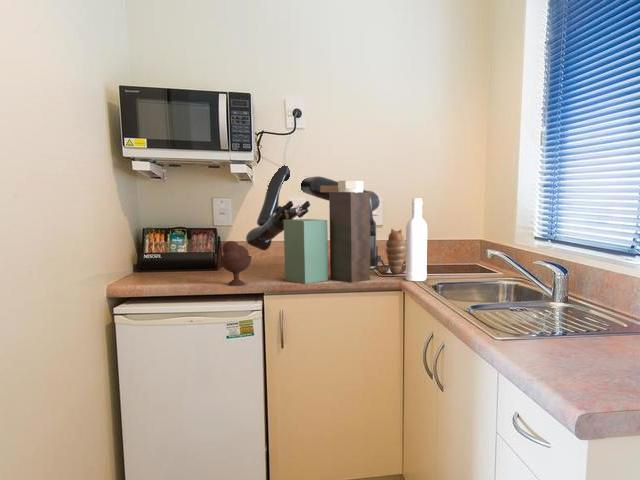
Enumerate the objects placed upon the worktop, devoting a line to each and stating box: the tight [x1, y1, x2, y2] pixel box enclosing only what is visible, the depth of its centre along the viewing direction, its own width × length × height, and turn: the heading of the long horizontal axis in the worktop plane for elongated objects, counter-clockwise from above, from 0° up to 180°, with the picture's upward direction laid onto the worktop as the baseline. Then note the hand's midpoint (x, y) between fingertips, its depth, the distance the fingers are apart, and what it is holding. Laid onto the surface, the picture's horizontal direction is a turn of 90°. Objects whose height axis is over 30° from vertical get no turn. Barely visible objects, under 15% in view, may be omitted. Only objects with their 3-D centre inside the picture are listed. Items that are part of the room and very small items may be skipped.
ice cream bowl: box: [218, 240, 252, 287], centre depth 176 cm, size 11×11×15 cm
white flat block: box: [320, 180, 364, 192], centre depth 188 cm, size 9×20×4 cm, turn 52°
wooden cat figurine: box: [385, 228, 406, 275], centre depth 204 cm, size 9×8×18 cm
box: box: [283, 218, 329, 285], centre depth 186 cm, size 11×11×22 cm
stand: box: [328, 192, 371, 283], centre depth 188 cm, size 10×11×32 cm
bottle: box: [404, 198, 428, 282], centre depth 190 cm, size 8×8×30 cm
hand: (300, 203), depth 203 cm, fingers open, 8 cm apart
